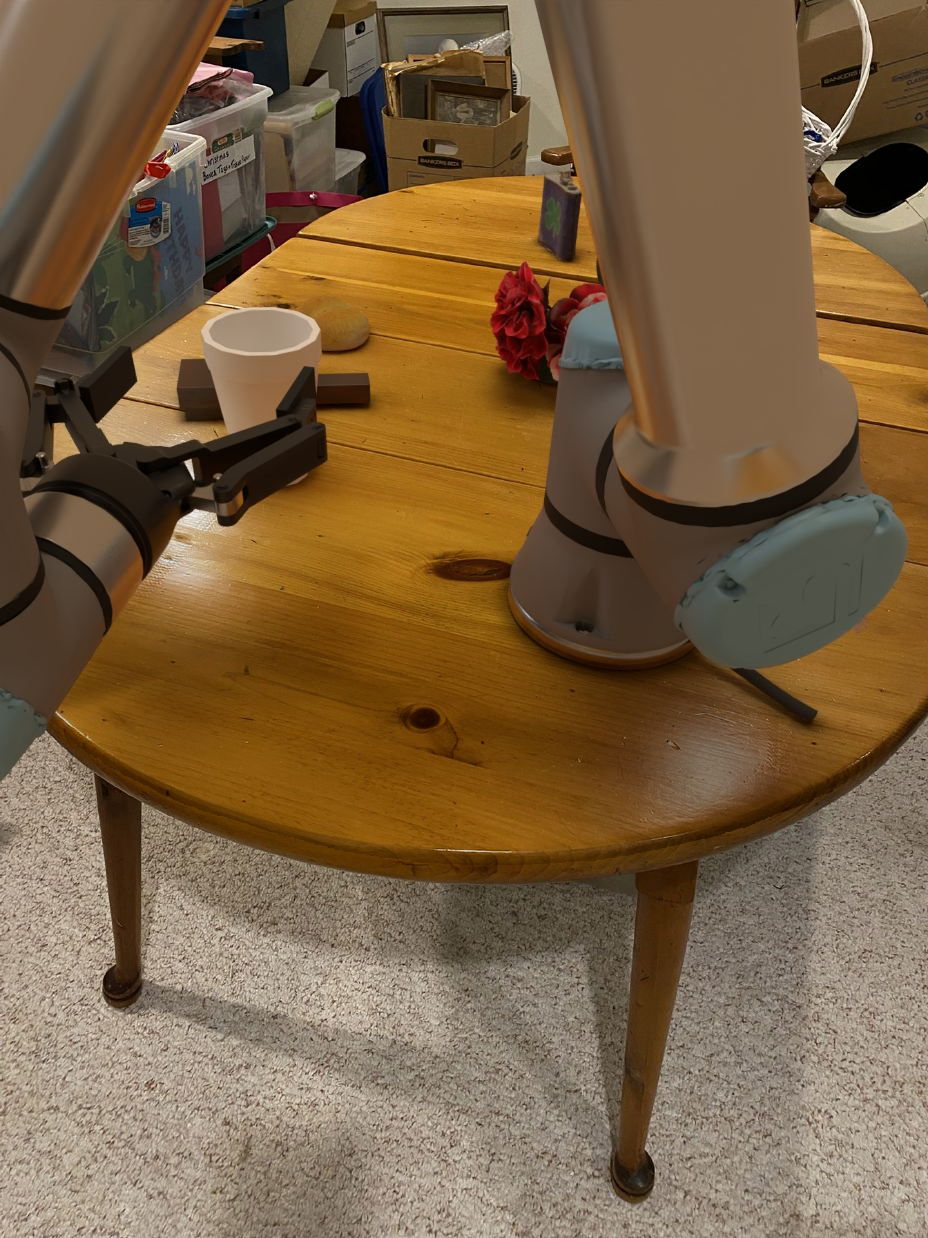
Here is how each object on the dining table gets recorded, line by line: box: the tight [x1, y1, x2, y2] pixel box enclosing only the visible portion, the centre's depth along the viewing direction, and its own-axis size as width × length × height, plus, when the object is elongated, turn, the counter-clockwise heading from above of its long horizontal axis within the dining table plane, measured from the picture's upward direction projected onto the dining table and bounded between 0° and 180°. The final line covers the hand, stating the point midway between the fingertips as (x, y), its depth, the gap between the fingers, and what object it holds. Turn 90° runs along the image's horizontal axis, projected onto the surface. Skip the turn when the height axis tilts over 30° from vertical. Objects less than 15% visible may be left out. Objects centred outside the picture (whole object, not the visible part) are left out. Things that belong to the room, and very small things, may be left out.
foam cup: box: [200, 306, 323, 487], centre depth 79 cm, size 10×9×13 cm
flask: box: [537, 168, 583, 263], centre depth 127 cm, size 9×3×11 cm, turn 21°
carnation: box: [489, 258, 608, 384], centre depth 102 cm, size 16×18×35 cm
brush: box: [176, 358, 371, 422], centre depth 91 cm, size 18×6×4 cm, turn 99°
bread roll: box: [294, 295, 371, 352], centre depth 103 cm, size 8×9×4 cm
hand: (219, 373), depth 67 cm, fingers open, 13 cm apart
